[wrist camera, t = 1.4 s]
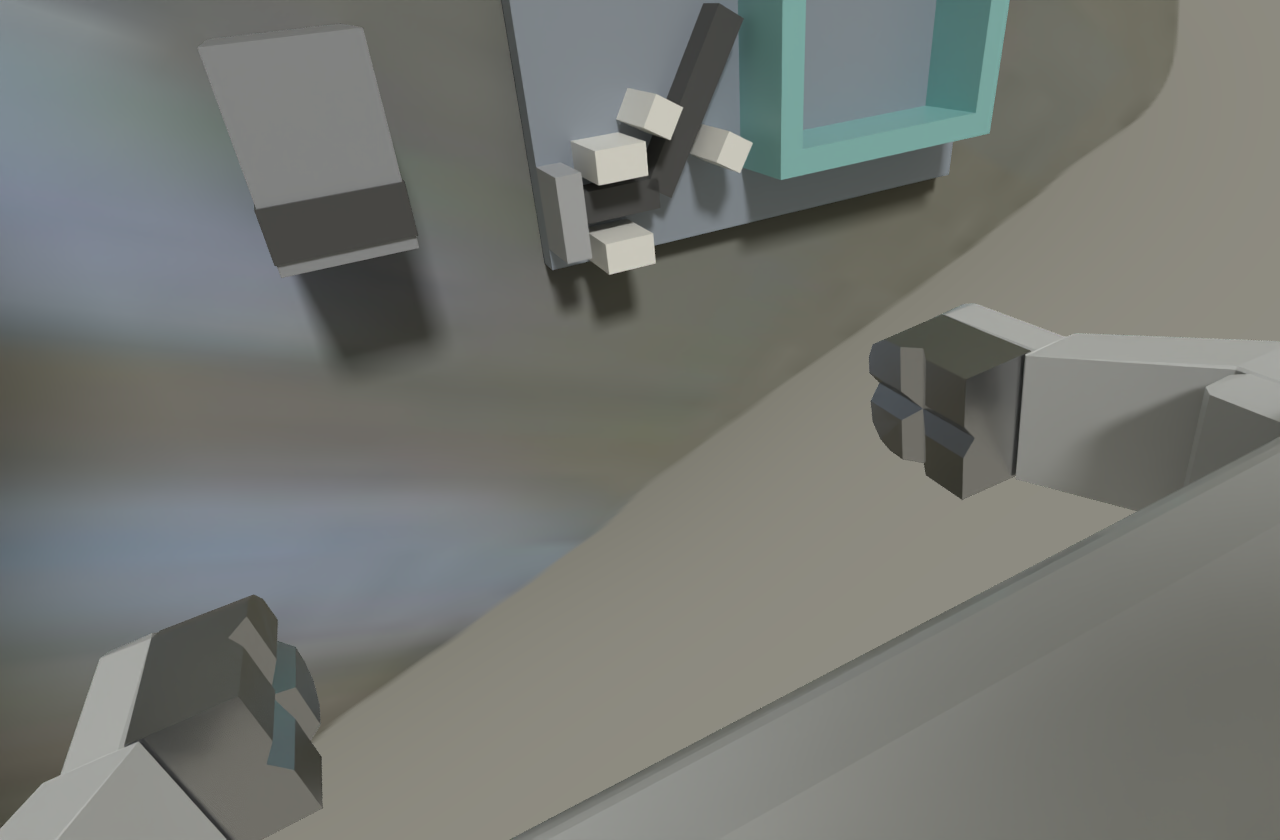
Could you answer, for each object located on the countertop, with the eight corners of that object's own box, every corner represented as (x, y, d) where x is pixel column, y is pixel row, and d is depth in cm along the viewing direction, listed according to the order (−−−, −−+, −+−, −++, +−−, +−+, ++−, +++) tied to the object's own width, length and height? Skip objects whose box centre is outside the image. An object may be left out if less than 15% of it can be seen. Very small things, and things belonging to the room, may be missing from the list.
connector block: (206, 39, 23) (194, 48, 18) (342, 23, 24) (365, 27, 19) (274, 228, 26) (279, 279, 21) (390, 205, 27) (421, 248, 22)
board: (469, -197, 23) (498, -225, 20) (978, -211, 30) (1053, -234, 27) (544, 263, 31) (573, 288, 28) (933, 170, 37) (988, 184, 35)
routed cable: (539, 206, 29) (550, 213, 28) (709, -7, 28) (726, -8, 27) (601, 261, 31) (613, 269, 30) (761, 65, 30) (778, 67, 29)
